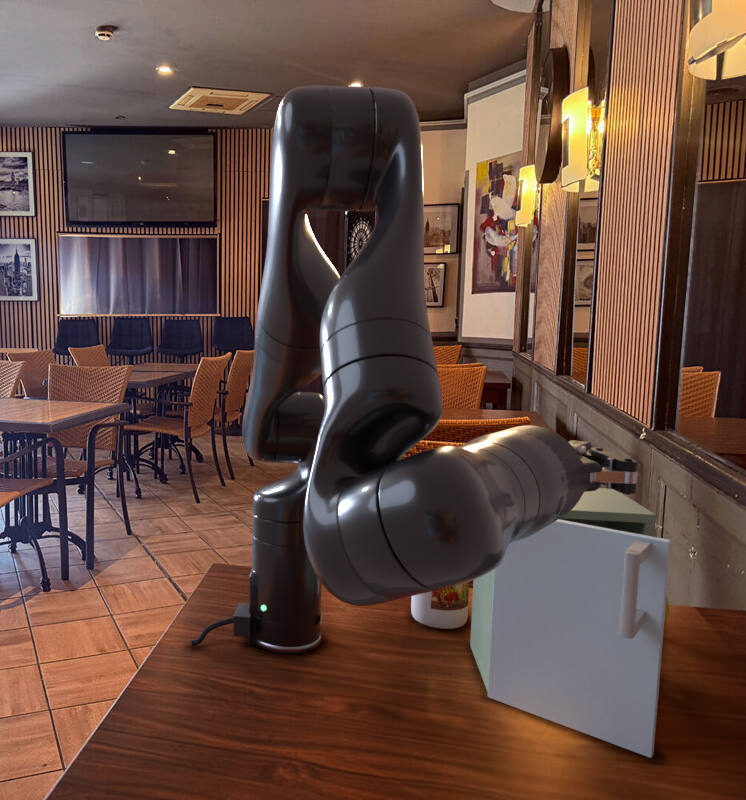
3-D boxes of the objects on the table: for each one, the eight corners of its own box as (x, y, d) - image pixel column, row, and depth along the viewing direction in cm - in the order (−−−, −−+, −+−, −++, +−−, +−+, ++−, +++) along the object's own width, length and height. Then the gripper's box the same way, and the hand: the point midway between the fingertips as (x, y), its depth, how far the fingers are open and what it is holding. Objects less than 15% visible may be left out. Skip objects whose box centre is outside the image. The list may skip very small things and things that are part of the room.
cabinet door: (638, 783, 64) (657, 555, 61) (468, 715, 74) (478, 519, 72) (653, 753, 68) (671, 539, 66) (490, 694, 79) (500, 508, 77)
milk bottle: (407, 624, 97) (413, 485, 95) (413, 604, 104) (418, 474, 102) (466, 634, 94) (473, 491, 92) (468, 612, 101) (474, 479, 99)
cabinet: (641, 709, 76) (656, 514, 74) (487, 693, 79) (497, 506, 77) (602, 658, 88) (614, 488, 86) (470, 646, 91) (478, 482, 89)
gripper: (617, 441, 45) (671, 418, 58) (426, 422, 54) (509, 405, 67) (610, 554, 46) (665, 506, 58) (422, 516, 55) (505, 482, 67)
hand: (581, 452), depth 62 cm, fingers closed
